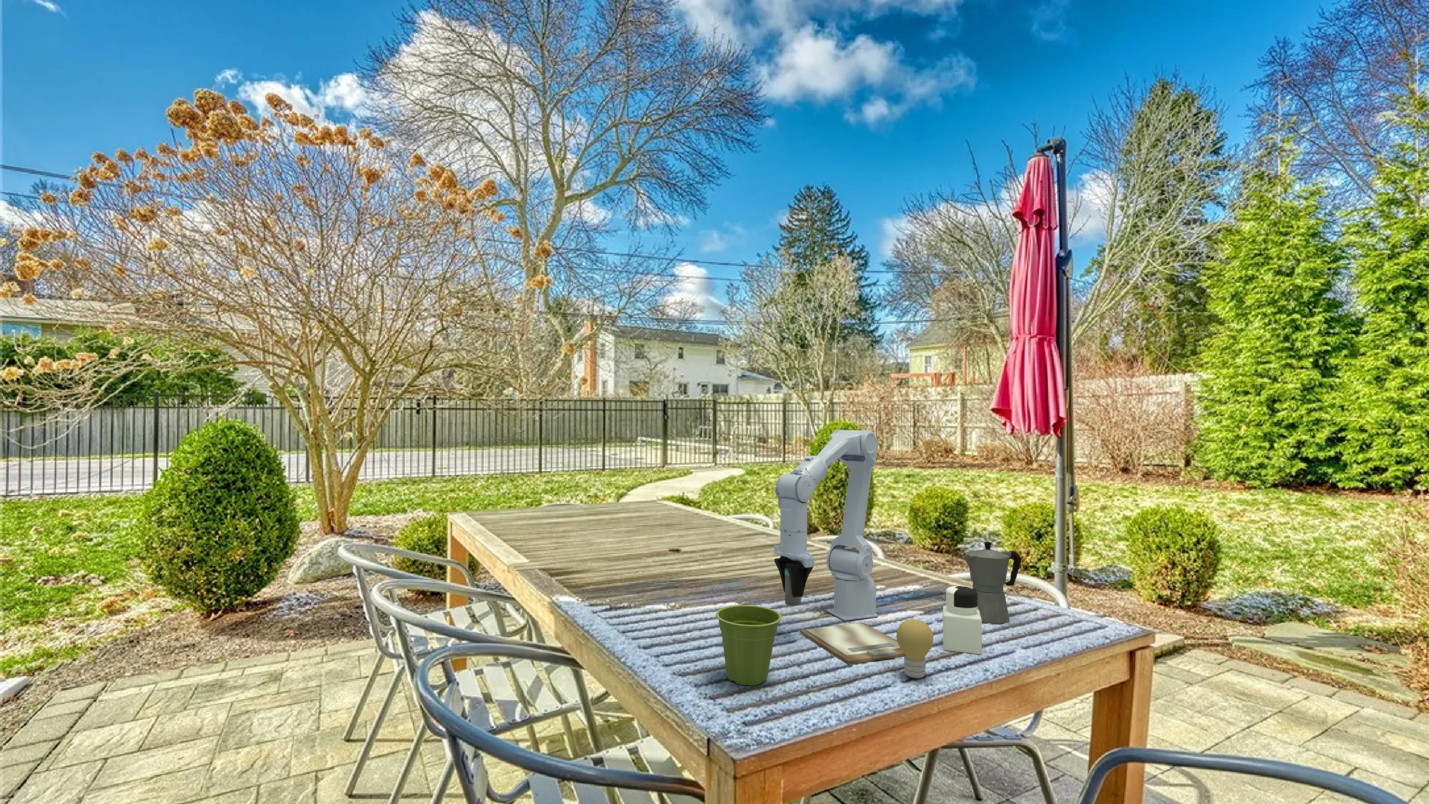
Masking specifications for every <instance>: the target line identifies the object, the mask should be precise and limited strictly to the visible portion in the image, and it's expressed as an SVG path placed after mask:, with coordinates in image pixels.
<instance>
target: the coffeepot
mask: <svg viewBox="0 0 1429 804" xmlns="http://www.w3.org/2000/svg"><path fill="white" fill-rule="evenodd" d="M983 544H984V549H978V550H977V549H976V550H970V551H967V552H966V553H965V554H963V555H962V556H961V558H962V559H963V560H964V561H965V563H966V565H967V566H968V569H969V575H970V576H969V577H970V581H971V582H972V587H971V588H972V589H974V590H975V591H976V592H977V593H978V610H979V612H980V616H981V619H982V624H988V623H990V624H989V625H1003V624H1007V623H1009V621H1010V616H1009V609H1008V604H1007V599H1006V593H1005V592H1004V586H1007V587H1012V586H1014V585H1015V583H1016V580H1017V577H1018V574H1019V571H1020V567H1021V564H1022V558H1021V556H1020V555H1019V554H1018V552H1017V551H1015V550H1009V551H1007V550H1004V551H1003V550H1001V551H997V550H993V549H991V548H992V542H991V541H984V542H983ZM1011 559H1012V560H1013V562H1012V569H1011V572H1010V576H1009V577H1010V580H1009V581H1007V574H1008V570H1009V569H1008V568H1009V564H1010V563H1009V561H1010V560H1011Z"/></svg>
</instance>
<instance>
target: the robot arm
mask: <svg viewBox="0 0 1429 804" xmlns="http://www.w3.org/2000/svg"><path fill="white" fill-rule="evenodd" d="M828 440H829V441H828V443H827V444H826V445H825V446H824V447H823V448H822V450H820V452H819V453H818V454H816V455H807V456H805V457H804V460H803V461H802V462H801V463H800V464H798V466H797V467H795V468H793V470H792V471H791V472H790V473H783V474H782V475H781V476H780V477H778V479H777V481H776V483H775V486H774V494H775V497H776V498H777V506H778V508H779V509H780V510H779V511H780V514H779V515H780V516H779V517H780V518H779V521H780V522H779V523H780V525H779V528H780V529H779V530H780V532H779V536H780V537H779V538H780V539H779V540H780V541H779V543H780V544H774V545H773V546H774V547H773V548H774V552H773V553H774V554H775V555H776V556H778V557H779V558H778V557H777V558H774V559H773V560H774V561H773V562H774V563H775V565H776V567H777V570H778V574H779V576H780V580H781V585H782V589H783V592H784V593H785V568H787V569H788V572H789V575H790V580H791V591H792V596H793V597H801V598H803V596H804V591H805V589H806V588H805V587H806V585H807V580H808V578H809V577H810V573H811V572H812V571H813V569H814V567H815V557H814V556H812V555H811V554H810V552H809V551H808V501H810V500H811V499H812V497H813V494H814V490H815V489H816V487H817V485H818V484H819V483H821V481H822V480H823V479H824V478H825V477H826V476H827V475H828V469H829V468H828V467H830V466H831V465H832V464H834V463H835V462H837V461H838V460H839V461H840V462H841V463H842V464H843V465H845V466H847V468H848V469H849V473H848V480H847V481H848V482H847V487H846V488H847V489H846V494H845V495H846V497H845V505H844V511H843V519H842V526H841V532H840V534H839V535H838V536H836V537H835V538H833V539H832V540H831V542H830V548H829V550H828V551H827V555H826V560H825V561H826V566H827V568H828V570H829V572H831V577H833V607H832V608H827V609H826V612H828V613H830V614H831V615H833V616H835V617H837V618H839V619H841V620H843V621H851V620H859V619H861V620H862V619H867V618H868V619H870V618H877V617H879V615H878V614H877V609H876V608H877V589H876V582H875V581H874V579H873V578H872V577H871V573H872V572H873V568H874V559H873V546H871V544H870V543H869V542H868V541H867V540H866V539H865V537H864V533H865V525H866V520H867V519H866V517H867V509H868V502H869V494H870V487H871V478H872V471H873V467H875V466H876V463H877V462H876V460H877V454H878V447H879V443H878V442H879V441H878V439H877V437H876V434H875V433H874V432H873V430H870V429H867V430H853V429H852V430H850V429H848V430H847V429H845V430H844V429H836V430H834V431H833V433H831V434H830V435H829V439H828ZM847 547H849V548H847ZM850 548H855V549H850ZM856 549H857V550H856Z"/></svg>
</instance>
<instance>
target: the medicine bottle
mask: <svg viewBox="0 0 1429 804" xmlns="http://www.w3.org/2000/svg"><path fill="white" fill-rule="evenodd" d="M972 588H973V587H969V586H965V585H964V586H963V585H952V586H949V587H947V588H946V589H945V605H943V606H942V645H943V650H944V651H949V652H957V653H963V654H964V653H966V654H972V655H973V654H974V655H982V654H983V652H982V651H983V645H982V644H983V642H982V640H983V639H982V638H983V631H982V629H983V625H982V624H983V623H982V619H981V616H980V612H979V610H978V593H977V592H976V591H975V590H974V589H972Z"/></svg>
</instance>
